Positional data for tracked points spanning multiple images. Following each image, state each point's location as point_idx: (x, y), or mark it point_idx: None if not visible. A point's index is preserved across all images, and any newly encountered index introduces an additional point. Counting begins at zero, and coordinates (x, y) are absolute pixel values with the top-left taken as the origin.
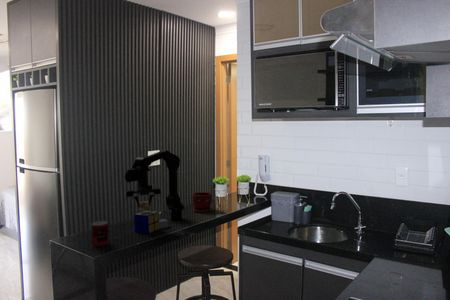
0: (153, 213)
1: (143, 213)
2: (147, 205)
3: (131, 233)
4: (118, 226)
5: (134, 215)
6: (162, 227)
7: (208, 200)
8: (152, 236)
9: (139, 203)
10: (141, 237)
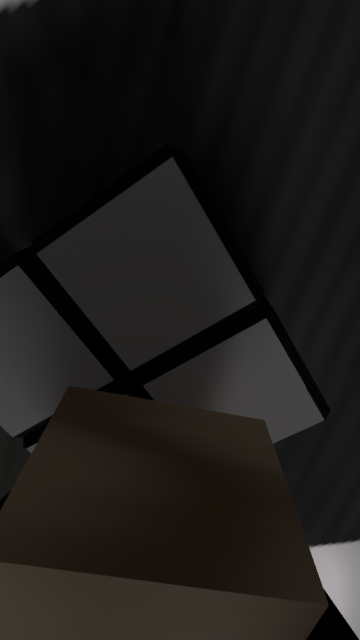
0: (19, 282)
1: (184, 386)
2: (69, 470)
3: (309, 282)
4: (302, 507)
5: (324, 400)
6: None
7: None
8: (176, 14)
9: (307, 617)
10: (293, 62)
